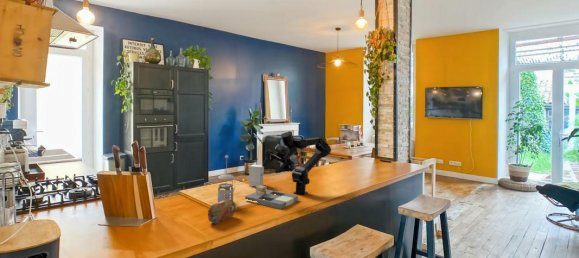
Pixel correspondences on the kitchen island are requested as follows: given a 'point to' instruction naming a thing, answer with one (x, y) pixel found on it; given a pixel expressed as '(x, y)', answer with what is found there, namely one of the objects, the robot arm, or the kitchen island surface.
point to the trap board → (273, 199)
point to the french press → (225, 186)
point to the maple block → (261, 190)
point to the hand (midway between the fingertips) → (268, 169)
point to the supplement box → (256, 175)
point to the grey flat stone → (221, 211)
